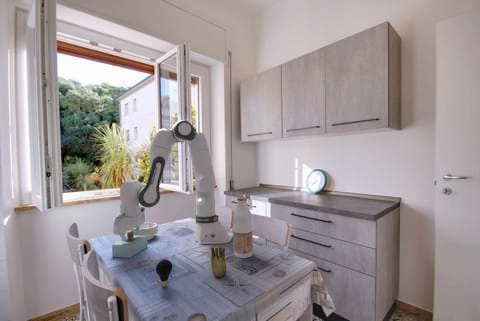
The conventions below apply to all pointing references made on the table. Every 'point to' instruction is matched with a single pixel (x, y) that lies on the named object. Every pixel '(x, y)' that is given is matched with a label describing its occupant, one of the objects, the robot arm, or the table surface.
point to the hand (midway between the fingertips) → (130, 237)
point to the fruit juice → (242, 230)
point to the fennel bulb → (218, 261)
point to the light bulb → (164, 271)
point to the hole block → (129, 247)
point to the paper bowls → (147, 230)
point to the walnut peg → (130, 236)
